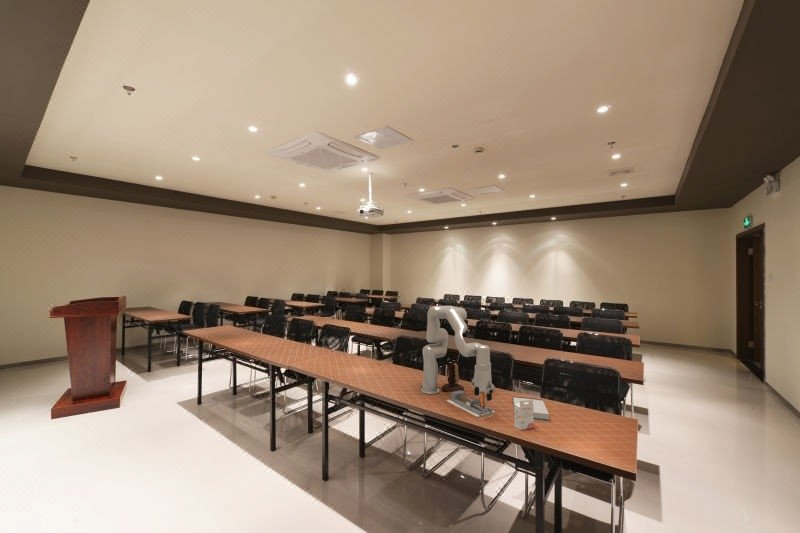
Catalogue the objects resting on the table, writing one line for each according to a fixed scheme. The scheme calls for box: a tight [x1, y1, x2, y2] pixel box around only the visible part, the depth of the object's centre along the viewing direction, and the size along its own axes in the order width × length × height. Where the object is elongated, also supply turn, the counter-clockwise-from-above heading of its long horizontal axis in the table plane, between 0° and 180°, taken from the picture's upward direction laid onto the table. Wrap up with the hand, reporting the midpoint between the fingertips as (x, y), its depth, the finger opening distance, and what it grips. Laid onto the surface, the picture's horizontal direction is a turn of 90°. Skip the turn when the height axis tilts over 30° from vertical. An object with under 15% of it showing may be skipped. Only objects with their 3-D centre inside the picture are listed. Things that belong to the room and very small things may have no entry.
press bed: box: [446, 390, 496, 420], centre depth 201 cm, size 27×14×6 cm, turn 31°
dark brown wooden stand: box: [441, 360, 465, 393], centre depth 233 cm, size 15×15×20 cm
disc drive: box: [512, 396, 550, 423], centre depth 198 cm, size 18×22×5 cm
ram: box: [470, 391, 489, 414], centre depth 194 cm, size 9×6×11 cm
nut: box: [460, 395, 468, 403], centre depth 206 cm, size 4×4×4 cm
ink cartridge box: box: [513, 400, 534, 431], centre depth 177 cm, size 9×5×15 cm, turn 106°
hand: (482, 397), depth 192 cm, fingers open, 9 cm apart
